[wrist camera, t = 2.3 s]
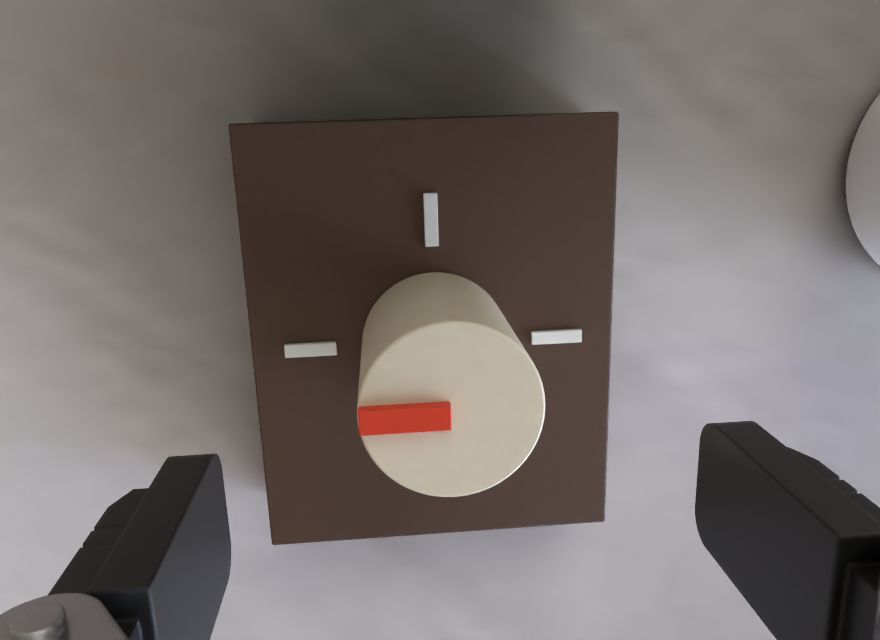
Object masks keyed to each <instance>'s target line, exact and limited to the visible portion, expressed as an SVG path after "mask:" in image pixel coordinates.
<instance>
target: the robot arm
mask: <svg viewBox="0 0 880 640" xmlns="http://www.w3.org/2000/svg"><path fill="white" fill-rule="evenodd" d="M695 517H696V524H697V528H698V532H699V535H700V538H701V540H702V542H703V544H704V546H705V547H706V549H707V550H708V551H709V553H710V554H711V555H712V556H713V558H714V559H715V560H716V562H717V563H718V564H719V565H720V567H721V568H722V569H723V571H724V572H725V573H726V574H727V576H728V577H729V578H730V580H731V581H732V582H733V584H734V585H735V586H736V587H737V589H738V590H739V591H740V593H741V594H742V595H743V596H744V598H745V599H746V600H747V602H748V603H749V604H750V606H751V607H752V608H753V609H754V611H755V612H756V613H757V615H758V616H759V617H760V618H761V620H762V621H763V622H764V624H765V625H766V626H767V628H768V629H769V630H770V631H771V633H772V634H773V635H774V637H775V638H776V639H777V640H880V508H879V507H878V506H877V505H875V504H874V503H873V502H871V501H870V500H869V499H868V498H866V497H865V496H864V495H862V494H857V490H856V489H855V488H853V487H852V486H851V485H849V484H848V483H847V482H845V481H844V480H840V479H839V476H838V475H836V474H835V473H834V472H832V471H831V470H830V469H829V468H827V467H826V466H825V465H823V464H822V463H821V462H819V461H818V460H816V459H814V458H811V457H809V456H807V455H805V454H802V453H800V452H798V451H795V450H793V449H791V448H789V447H786V446H784V445H783V444H782V443H781V442H779V441H778V440H777V439H776V438H774V437H773V436H772V435H771V434H769V433H768V432H767V431H766V430H764V429H763V428H762V427H761V426H759V425H758V424H757V423H755V422H753V421H742V422H726V423H710V424H707V425H705V426H704V428H703V430H702V433H701V437H700V448H699V461H698V475H697V489H696V503H695ZM94 528H95V529H94V531H91V533H90V534H89V536H88V537H87V539H86V540H85V542H84V543H83V548H80V549H79V550H78V552H77V553H76V555H75V556H74V558H73V559H72V561H71V562H70V564H69V565H68V566H67V568H66V569H65V571H64V572H63V574H62V575H61V577H60V578H59V580H58V581H57V582H56V584H55V585H54V587H53V588H52V590H51V591H50V593H49V594H48V596H44V597H41V598H37V599H34V600H31V601H28V602H25V603H23V604H21V605H18V606H16V607H14V608H12V609H10V610H8V611H6V612H5V613H3V614H1V615H0V640H210V637H211V634H212V631H213V628H214V624H215V621H216V618H217V615H218V612H219V609H220V605H221V602H222V599H223V596H224V593H225V590H226V586H227V583H228V580H229V574H230V566H231V541H230V532H229V524H228V515H227V507H226V499H225V490H224V482H223V473H222V466H221V462H220V459H219V456H218V455H217V454H203V455H187V456H171V457H168V458H167V459H166V461H165V462H164V464H163V466H162V467H161V469H160V471H159V472H158V474H157V475H156V477H155V479H154V480H153V482H152V484H151V485H150V487H149V488H146V489H133V490H132V491H130V492H129V493H128V494H126V495H125V496H123V497H122V498H120V499H119V500H118V501H116V502H115V503H113V504H112V505H111V506H109V507H108V508H107V510H106V511H105V512H104V514H103V515H102V517H101V518H100V520H99V521H98V523H97V524H96V526H95V527H94Z"/></svg>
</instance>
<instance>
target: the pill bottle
mask: <svg viewBox="0 0 880 640" xmlns="http://www.w3.org/2000/svg"><path fill="white" fill-rule="evenodd" d="M846 200H847V207H848V212H849V216H850V219H851V223H852V225H853V228H854V230H855V233H856V235H857V237H858V239H859V241H860V242H861V244H862V246H863V247H864V248H865V250H866V251H867V253H868V254H869V255H870V256H871V257H872V258H873V260H874V261H875V262H876V263H878V264H879V265H880V94H879V95H878V96H877V98H876V99H875V100H874V102H873V103H872V105H871V106H870V108H869V109H868V111H867V113H866V114H865V116H864V118H863V120H862V122H861V124H860V126H859V128H858V131H857V133H856V136H855V138H854V141H853V144H852V147H851V151H850V155H849V159H848V165H847V172H846Z"/></svg>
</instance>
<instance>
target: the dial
mask: <svg viewBox="0 0 880 640" xmlns="http://www.w3.org/2000/svg"><path fill="white" fill-rule="evenodd" d="M544 418H545V393H544V389H543V384H542V381H541V378H540V375H539V372H538V370H537V369H536V367H535V365H534V363H533V361H532V360H531V358H530V356H529V355H528V353H527V352H526V350H525V349H524V347H523V345H522V344H521V342H520V341H519V339H518V337H517V336H516V334H515V333H514V331H513V330H512V328H511V326H510V325H509V323H508V322H507V320H506V318H505V317H504V315H503V314H502V312H501V311H500V309H499V307H498V306H497V304H496V303H495V302H494V300H493V299H492V297H491V296H490V295H489V294H488V293H487V292H486V291H485V290H483V289H482V288H481V287H480V286H478V285H477V284H475V283H474V282H472V281H470V280H468V279H466V278H463V277H461V276H458V275H454V274H449V273H442V272H431V273H423V274H419V275H414V276H412V277H409V278H406V279H404V280H402V281H400V282H398V283H397V284H395V285H394V286H392V287H391V288H389V289H388V290H387V291H386V292H385V293H384V294H383V295H382V296H381V297H380V298H379V299H378V300H377V302H376V303H375V304H374V306H373V308H372V309H371V311H370V313H369V315H368V317H367V320H366V323H365V326H364V330H363V337H362V349H361V362H360V375H359V388H358V401H357V420H358V428H359V435H360V436H361V439H362V441H363V444H364V446H365V448H366V450H367V452H368V453H369V455H370V457H371V458H372V460H373V461H374V462H375V463H376V465H377V466H378V467H379V468H380V469H381V470H382V471H383V472H384V473H385V474H386V475H387V476H388V477H390V478H391V479H393V480H394V481H396V482H397V483H398V484H400V485H402V486H404V487H406V488H408V489H410V490H413V491H416V492H418V493H422V494H426V495H430V496H439V497H457V496H465V495H470V494H474V493H478V492H481V491H483V490H486V489H489V488H491V487H493V486H494V485H496V484H498V483H500V482H502V481H503V480H504V479H506V478H507V477H509V476H510V475H511V474H512V473H514V472H515V471H516V470H517V469H518V468H519V467H520V466H521V465H522V464H523V463H524V461H525V460H526V459H527V458H528V456H529V455H530V453H531V452H532V450H533V448H534V447H535V445H536V443H537V441H538V439H539V436H540V433H541V430H542V427H543V422H544Z"/></svg>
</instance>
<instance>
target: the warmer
mask: <svg viewBox="0 0 880 640" xmlns="http://www.w3.org/2000/svg"><path fill="white" fill-rule="evenodd" d="M618 120H619V113H618V112H588V113H556V114H524V115H491V116H459V117H427V118H395V119H362V120H330V121H298V122H266V123H235V124H229V133H230V143H231V153H232V162H233V172H234V182H235V191H236V201H237V211H238V220H239V230H240V239H241V249H242V259H243V268H244V278H245V288H246V297H247V307H248V317H249V326H250V336H251V345H252V355H253V365H254V374H255V384H256V394H257V403H258V413H259V423H260V432H261V442H262V451H263V461H264V471H265V480H266V490H267V500H268V509H269V519H270V529H271V538H272V544H273V545H280V544H294V543H308V542H322V541H337V540H351V539H365V538H379V537H393V536H407V535H422V534H436V533H450V532H464V531H478V530H493V529H507V528H521V527H535V526H549V525H563V524H578V523H592V522H604V521H605V498H606V469H607V440H608V411H609V382H610V353H611V324H612V295H613V265H614V236H615V207H616V178H617V149H618ZM431 272H442V273H449V274H454V275H458V276H461V277H463V278H466V279H468V280H470V281H472V282H474V283H475V284H477V285H478V286H480V287H481V288H482V289H483V290H485V291H486V292H487V293H488V294H489V295H490V296H491V297H492V299H493V300H494V302H495V303H496V304H497V306H498V307H499V309H500V311H501V312H502V314H503V315H504V317H505V318H506V320H507V322H508V323H509V325H510V326H511V328H512V330H513V331H514V333H515V334H516V336H517V337H518V339H519V341H520V342H521V344H522V345H523V347H524V349H525V350H526V352H527V353H528V355H529V356H530V358H531V360H532V361H533V363H534V365H535V367H536V369H537V370H538V372H539V375H540V378H541V381H542V384H543V389H544V393H545V418H544V422H543V427H542V430H541V433H540V436H539V439H538V441H537V443H536V445H535V447H534V448H533V450H532V452H531V453H530V455H529V456H528V458H527V459H526V460H525V461H524V463H523V464H522V465H521V466H520V467H519V468H518V469H517V470H516V471H515V472H514V473H512V474H511V475H510V476H509V477H507V478H506V479H504V480H503V481H502V482H500V483H498V484H496V485H494V486H493V487H491V488H489V489H486V490H483V491H481V492H478V493H474V494H470V495H465V496H457V497H439V496H430V495H426V494H422V493H418V492H416V491H413V490H410V489H408V488H406V487H404V486H402V485H400V484H398V483H397V482H396V481H394V480H393V479H391V478H390V477H388V476H387V475H386V474H385V473H384V472H383V471H382V470H381V469H380V468H379V467H378V466H377V465H376V463H375V462H374V461H373V460H372V458H371V457H370V455H369V453H368V452H367V450H366V448H365V446H364V444H363V441H362V439H361V436H360V435H359V428H358V420H357V401H358V388H359V375H360V362H361V349H362V337H363V330H364V326H365V323H366V320H367V317H368V315H369V313H370V311H371V309H372V308H373V306H374V304H375V303H376V302H377V300H378V299H379V298H380V297H381V296H382V295H383V294H384V293H385V292H386V291H387V290H388V289H389V288H391V287H392V286H394V285H395V284H397V283H398V282H400V281H402V280H404V279H406V278H409V277H412V276H414V275H419V274H423V273H431Z"/></svg>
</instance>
